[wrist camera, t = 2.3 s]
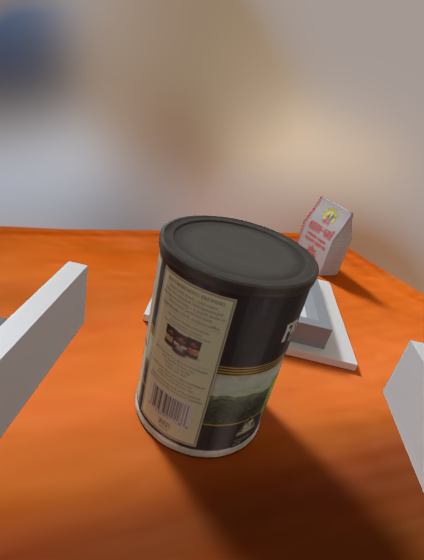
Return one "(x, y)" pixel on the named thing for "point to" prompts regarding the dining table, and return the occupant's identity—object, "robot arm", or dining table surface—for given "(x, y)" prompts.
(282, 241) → the coffee can
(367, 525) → the dining table surface
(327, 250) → the white printed box
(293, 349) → the caddy
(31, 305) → the robot arm
